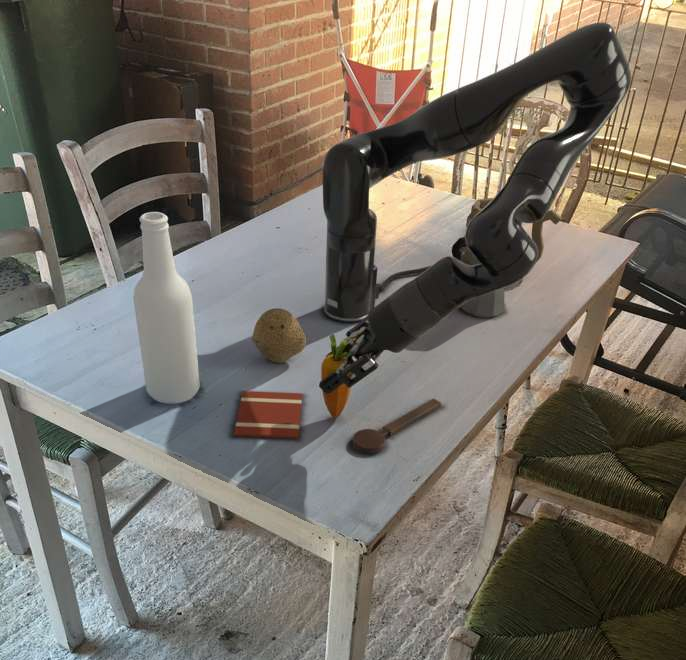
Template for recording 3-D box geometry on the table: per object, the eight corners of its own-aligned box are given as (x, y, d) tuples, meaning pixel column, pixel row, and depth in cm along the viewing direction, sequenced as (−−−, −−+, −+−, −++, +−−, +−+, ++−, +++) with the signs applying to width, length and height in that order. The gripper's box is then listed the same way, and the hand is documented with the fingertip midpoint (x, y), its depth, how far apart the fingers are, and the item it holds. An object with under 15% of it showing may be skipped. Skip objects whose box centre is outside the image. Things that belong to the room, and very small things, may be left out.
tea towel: (302, 395, 128) (302, 393, 128) (297, 438, 119) (297, 436, 118) (243, 393, 128) (242, 390, 128) (233, 436, 119) (233, 433, 118)
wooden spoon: (425, 398, 129) (426, 393, 128) (448, 411, 126) (449, 406, 126) (346, 443, 118) (346, 437, 118) (368, 458, 116) (369, 452, 115)
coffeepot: (498, 293, 161) (514, 210, 150) (521, 313, 154) (539, 228, 143) (433, 302, 157) (444, 217, 146) (453, 323, 150) (466, 236, 139)
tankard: (452, 272, 168) (461, 206, 159) (466, 251, 177) (476, 187, 168) (541, 291, 163) (557, 223, 153) (552, 268, 172) (567, 203, 163)
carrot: (319, 409, 125) (321, 329, 116) (349, 409, 126) (353, 329, 116) (320, 427, 121) (323, 345, 112) (351, 427, 122) (356, 345, 112)
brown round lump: (243, 355, 137) (241, 305, 131) (284, 342, 142) (284, 293, 135) (270, 378, 132) (269, 327, 126) (312, 364, 136) (313, 314, 130)
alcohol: (140, 403, 124) (114, 226, 106) (153, 374, 131) (131, 203, 112) (194, 407, 124) (177, 230, 105) (204, 378, 131) (190, 207, 112)
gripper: (393, 275, 115) (315, 336, 123) (388, 320, 103) (302, 384, 111) (424, 309, 118) (346, 367, 126) (422, 357, 106) (337, 417, 114)
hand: (326, 375), depth 118 cm, fingers open, 7 cm apart
